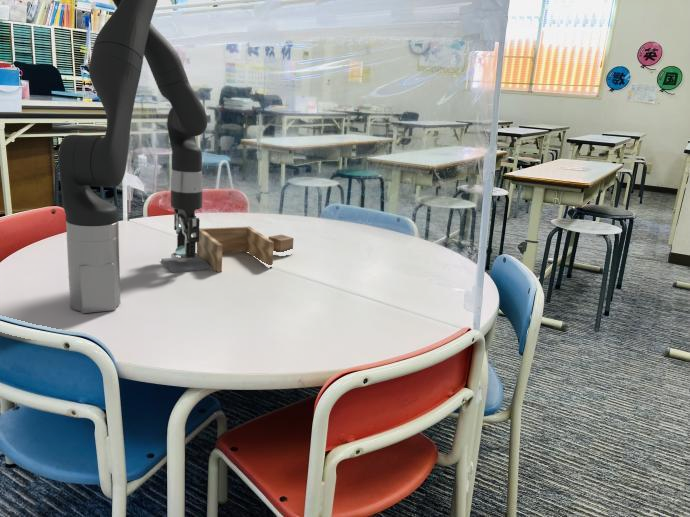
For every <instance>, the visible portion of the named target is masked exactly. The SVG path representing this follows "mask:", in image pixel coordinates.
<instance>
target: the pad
mask: <svg viewBox="0 0 690 517" xmlns="http://www.w3.org/2000/svg"><path fill="white" fill-rule="evenodd" d="M179 258H181V256H180V257H179ZM161 262H162V263H163V265H165V267H166V268H167V269H168V271H170V273H171V274H172V273H184V272H183V271H186V272H194V271H193V270H198V271H203V270H202V269H211V270H213V268H212V267H211V266H210V265H209V264H208V263H207V262H206V261H205V260H204V259H203V258H201V257H200V256H199V255H195V257H192V258H191V259H190V260H185V261H179V260H175V259H173V258H172V257H167V258H166V257H165V258H161Z"/></svg>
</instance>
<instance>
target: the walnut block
mask: <svg viewBox="0 0 690 517" xmlns="http://www.w3.org/2000/svg"><path fill="white" fill-rule="evenodd" d="M268 239H270V240H271V241H273V242H274V250H273V251H276V252H284V251H287V250H290V249H293V250H294V237H290V236H288V235H285V234H277V235H271V236H268Z"/></svg>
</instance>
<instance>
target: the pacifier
mask: <svg viewBox="0 0 690 517" xmlns="http://www.w3.org/2000/svg"><path fill="white" fill-rule="evenodd" d="M191 237H193V235H191ZM178 256H180V257H181V258H180V257H178ZM195 256H199V255H198V253H197V252H195ZM170 258H173V259H175V260H179V261H185V260H190V259H191V258H187V257H186V241H185V246H179V247H178V248H177V247H176V248H175V252H173V253H171V255H170Z"/></svg>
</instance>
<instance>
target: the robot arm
mask: <svg viewBox="0 0 690 517" xmlns="http://www.w3.org/2000/svg"><path fill="white" fill-rule="evenodd" d="M112 2H113V4H114V5H115V7H116V9H115V10H114V12H113V13H112V14H111V15H110V17H109V18H108V19H107V20H106V22H105V23H104V25H103V26H102V27H101V29H100V30H99V32H98V34H97V36H96V37H95V40H94V42H93V46H92V50H91V56H90V60H89V64H88V75H89V79H90V82H91V84H92V87H93V88H94V91H95V93H96V94H97V96H98V98H99V100H100V102H101V105H102V106H103V110H104V112H105V116H106V129H105V130H106V131H105V134H104V136H93V135H92V136H91V135H84V134H83V135H82V134H69V135H68V134H67V135H66V136H65V137H63V138H62V140H61V142H60V144H59V147H58V152H57V153H58V155H57V158H58V161H57V162H58V172H59V174H58V175H59V181H60V182H59V183H60V190H61V201H62V202H61V203H62V208H63V210H64V214H65V227H66V248H67V250H66V251H67V269H68V287H69V305H70V307H71V309H73V310H75V311H78V312H80V313H81V314H90V313H91V314H92V313H97V312H98V313H99V312H107V311H108V312H109V311H116V310H117V307H119V306H120V304H121V280H120V278H121V276H120V273H121V272H120V270H121V268H120V266H121V265H120V231H119V228H120V226H119V224H120V223H119V209H118V208H117V206H116V205H115V204H113V203H111V202H109V201H107V200H105V199H103V198H101V197H100V196H98V195H97V194H95V193H94V192H93V190H92V188H91V187H98V188H99V187H102V188H116V187H119V185H121V184H122V181H123V179H124V177H125V175H126V174H125V173H126V170H127V162H128V157H129V148H130V147H129V144H130V136H131V129H132V128H131V127H132V126H131V124H132V119H133V112H134V108H135V107H134V106H135V101H136V96H137V92H138V87H139V85H140V84H139V83H140V79H141V73H142V70H143V63H144V58H145V60H146V62H147V64H148V67H149V69H150V72H151V75H152V76H153V79H154V81H155V84H156V87H157V88H158V91H159V93H160V94H161V96H162V97H163V98H165V99H166V100H167V101H168V102H169V103H170V105H171V108H170V110H169V111H168V114H167V120H166V122H167V123H166V125H167V132H168V139H169V143H170V148H171V175H170V207H171V208H173V211H174V212H173V213H174V214H173V216H174V218H173V220H174V224H173V225H174V226H173V229H174V231H175V234H176V235H177V236H176V241H177V242H176V243H177V244H176V249H177V248H178V247H179V246H185V241H186V257H187V258H192V257H195V256H196V255H195V253H196V250H197V242H199V229H200V218H199V217H197V216H196V214H195V213H196V212H195V211H197V210H201V208H203V187H204V186H203V185H204V184H203V183H204V181H203V171H202V170H203V153H202V149H201V148H200V147H199V146H198V145H197V141H196V137H198V136H201V135H203V133H204V132H205V131H206V129H207V127H208V116H207V113H206V110H205V108H204V106H203V105H204V104H202V102H201V100H200V98H199V96H198V95H197V93H196V91H195V90H194V89H193V87H192V85H191V83H190V81H189V78H188V75H187V73H186V71H185V68H184V65H183V63H182V59H181V58H180V55H179V53H178V52H177V51H176V49H175V47H174V46H173V45H172V44H171V43H170V42H169V41H168V40H167V39H166V37H165V36H164V35H163V34H161V32H160V31H159V30H158V29H157V28H156V27H155V26H154V25H153V23H152V20H153V19H152V18H153V17H154V13H155V9H156V8H157V5H158V4H157V3H158V0H112ZM191 236H192V237H191Z"/></svg>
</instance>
